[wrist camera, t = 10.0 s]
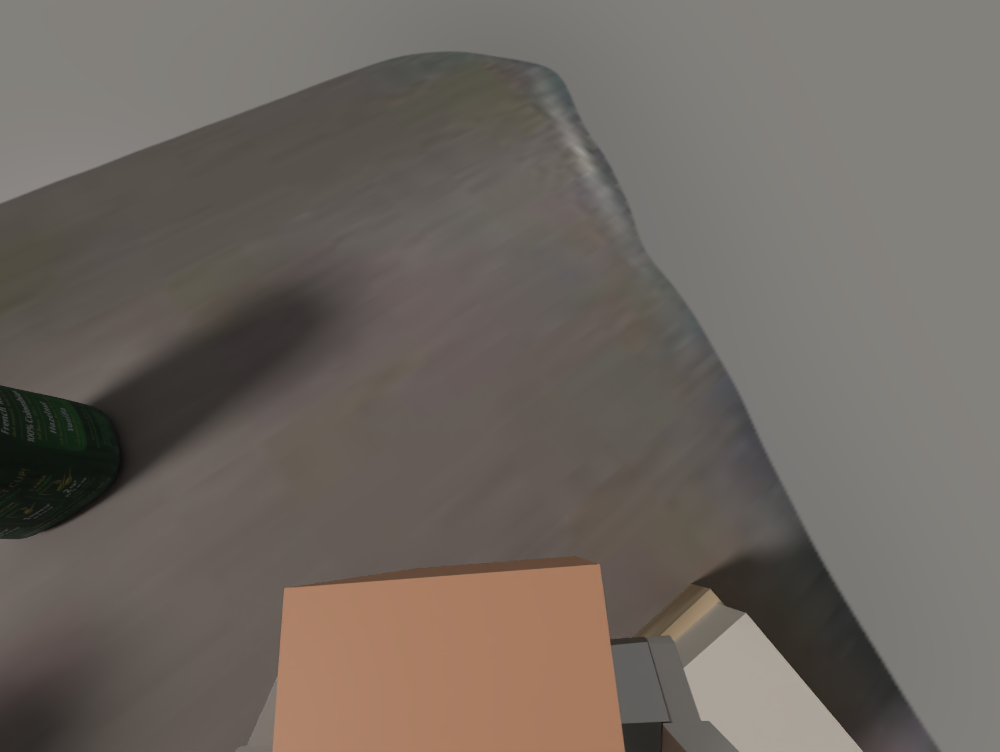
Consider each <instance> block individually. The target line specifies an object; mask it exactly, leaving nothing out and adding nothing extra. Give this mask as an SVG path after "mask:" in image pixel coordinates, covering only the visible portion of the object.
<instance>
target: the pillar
mask: <svg viewBox="0 0 1000 752" xmlns="http://www.w3.org/2000/svg"><path fill="white" fill-rule="evenodd" d="M272 752H625V748H624V740H623V733H622V725H621V718H620V711H619V703H618V696H617V688H616V681H615V674H614V666H613V659H612V651H611V644H610V636H609V629H608V622H607V614H606V607H605V599H604V592H603V584H602V577H601V570H600V564H598V563H594V562H591V561H588V560H585V559H582V558H578V557H575V556H572V557H559V558H546V559H533V560H520V561H507V562H494V563H481V564H468V565H455V566H442V567H429V568H416V569H409V570H402V571H396V572H389V573H382V574H376V575H369V576H362V577H356V578H349V579H342V580H335V581H329V582H322V583H315V584H309V585H302V586H295V587H289V588H284V600H283V613H282V627H281V641H280V655H279V668H278V682H277V696H276V710H275V723H274V737H273V751H272Z"/></svg>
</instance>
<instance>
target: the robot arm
mask: <svg viewBox="0 0 1000 752" xmlns="http://www.w3.org/2000/svg"><path fill="white" fill-rule="evenodd" d="M610 644H611V651H612V659H613V666H614V674H615V681H616V688H617V696H618V703H619V711H620V718H621V725H622V733H623V740H624V748H625V752H739V751H738V750H737V749H736V748H735V747H734V746H733V745H732V744H731V743H730V742H729V741H728V740H727V739H726V738H725V737H724V736H723V735H722V734H721V733H720V732H719V730H718V729H717V728H716V727H715V726H714V725H713V724H712V723H711V722H710V721H701V719H700V716H699V713H698V710H697V707H696V704H695V701H694V698H693V695H692V692H691V689H690V687H689V684H688V681H687V678H686V675H685V672H684V669H683V666H682V663H681V660H680V657H679V654H678V651H677V648H676V645H675V642H674V640H673V639H672V638H671V636H669V635H667V636H656V637H633V638H621V639H610ZM277 682H278V676H277V679H276V681H275V683H274V685H273V688H272V690H271V692H270V694H269V697H268V699H267V701H266V703H265V706H264V708H263V710H262V712H261V715H260V717H259V719H258V722H257V724H256V726H255V728H254V731H253V733H252V735H251V737H250V740H249V742H248V744H247V745H245V746H239V747H238V748H237V749H236V750H235V751H234V752H272V751H273V737H274V723H275V710H276V696H277Z"/></svg>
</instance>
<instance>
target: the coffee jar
mask: <svg viewBox="0 0 1000 752" xmlns="http://www.w3.org/2000/svg"><path fill="white" fill-rule="evenodd" d="M120 460H121V458H120V445H119V441H118V437H117V434H116V432H115V430H114V428H113V426H112V424H111V422H110V421H109V419H108V418H107V416H106V415H105V414H104V413H103V412H102V411H101V410H99V409H97V408H95V407H92V406H89V405H85V404H82V403H78V402H74V401H70V400H66V399H61V398H57V397H52V396H48V395H43V394H38V393H33V392H29V391H24V390H19V389H14V388H10V387H5V386H1V385H0V539H22V538H27V537H30V536H33V535H35V534H37V533H39V532H42V531H44V530H46V529H48V528H50V527H52V526H54V525H55V524H58V523H59V522H61V521H63V520H64V519H66V518H68V517H69V516H71V515H72V514H74V513H76V512H77V511H79V510H80V509H82V508H83V507H84V506H86V505H87V504H88V503H90V502H91V501H93V500H94V499H95V498H97V497H98V496H99V495H100V494H102V493H103V492H104V491H105V490H106V489H107V488H108V487H109V486H110V485H111V484H112V482H113V481H114V480H115V478H116V475H117V472H118V469H119V465H120Z"/></svg>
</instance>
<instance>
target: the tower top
mask: <svg viewBox="0 0 1000 752" xmlns="http://www.w3.org/2000/svg"><path fill="white" fill-rule="evenodd" d="M674 642H675V645H676V648H677V651H678V654H679V657H680V660H681V663H682V666H683V669H684V672H685V675H686V678H687V681H688V684H689V687H690V689H691V692H692V695H693V698H694V701H695V704H696V707H697V710H698V713H699V716H700V719H701V721H710V722H711V723H712V724H713V725H714V726H715V727H716V728H717V729H718V730H719V732H720V733H721V734H722V735H723V736H724V737H725V738H726V739H727V740H728V741H729V742H730V743H731V744H732V745H733V746H734V747H735V748H736V749H737V750H738V751H739V752H863V751H862V750H861V749H860V748H859V746H858V745H857V744H856V743H855V742H854V740H853V739H852V738H851V737H850V736H849V734H848V733H847V732H846V731H845V730H844V729H843V727H842V726H841V725H840V724H839V723H838V721H837V720H836V719H835V718H834V717H833V715H832V714H831V713H830V712H829V711H828V710H827V708H826V707H825V706H824V705H823V704H822V702H821V701H820V700H819V699H818V698H817V696H816V695H815V694H814V693H813V692H812V691H811V689H810V688H809V687H808V686H807V685H806V683H805V682H804V681H803V680H802V679H801V677H800V676H799V675H798V674H797V673H796V672H795V670H794V669H793V668H792V667H791V666H790V664H789V663H788V662H787V661H786V660H785V659H784V657H783V656H782V655H781V654H780V653H779V651H778V650H777V649H776V648H775V647H774V645H773V644H772V643H771V642H770V641H769V640H768V638H767V637H766V636H765V635H764V634H763V632H762V631H761V630H760V629H759V628H758V626H757V625H756V624H755V623H754V622H753V621H752V619H751V618H750V617H749V616H748V615H747V613H745V612H742V611H739V610H736V609H733V608H729V607H726V606H723V605H720V604H716V605H714V606H713V607H712V608H711V609H710V610H709V611H708V612H706V613H705V614H704V615H703V616H702V617H701V618H700V619H698V620H697V621H696V622H695V623H694V624H693V625H692V626H690V627H689V628H688V629H687V630H686V631H685V632H683V633H682V634H681V635H680V636H679V637H678V638H677V639H675V640H674Z"/></svg>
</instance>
